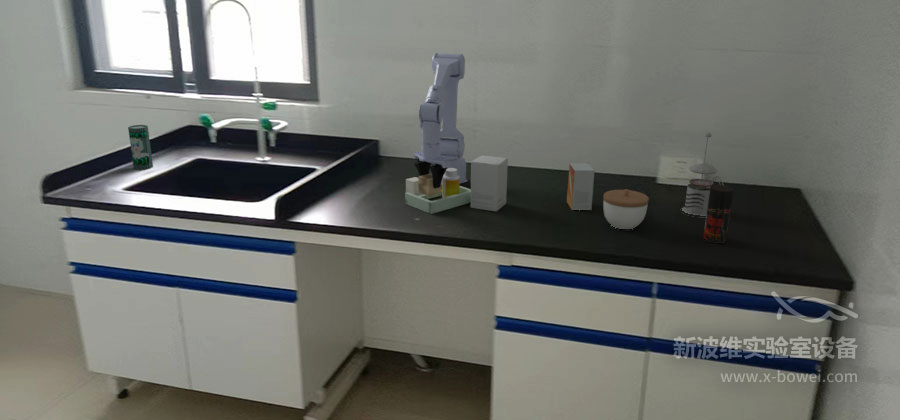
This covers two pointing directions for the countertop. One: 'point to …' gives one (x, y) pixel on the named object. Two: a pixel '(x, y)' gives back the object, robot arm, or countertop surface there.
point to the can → (140, 147)
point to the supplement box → (488, 182)
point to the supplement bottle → (450, 183)
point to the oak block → (427, 185)
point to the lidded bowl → (625, 208)
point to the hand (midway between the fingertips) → (430, 185)
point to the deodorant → (718, 213)
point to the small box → (580, 186)
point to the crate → (438, 201)
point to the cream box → (412, 186)
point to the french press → (697, 185)
